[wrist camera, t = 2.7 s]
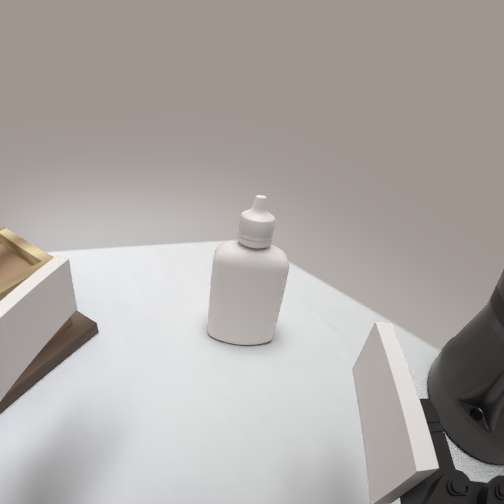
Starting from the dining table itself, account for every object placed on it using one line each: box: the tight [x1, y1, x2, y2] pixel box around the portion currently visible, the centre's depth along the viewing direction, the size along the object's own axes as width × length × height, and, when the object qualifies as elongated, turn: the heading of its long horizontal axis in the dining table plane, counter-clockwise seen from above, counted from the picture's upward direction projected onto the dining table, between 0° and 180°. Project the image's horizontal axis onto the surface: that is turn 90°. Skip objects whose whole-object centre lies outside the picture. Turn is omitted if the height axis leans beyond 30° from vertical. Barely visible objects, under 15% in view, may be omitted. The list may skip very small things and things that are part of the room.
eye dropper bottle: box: [207, 195, 289, 345], centre depth 23 cm, size 4×6×12 cm
